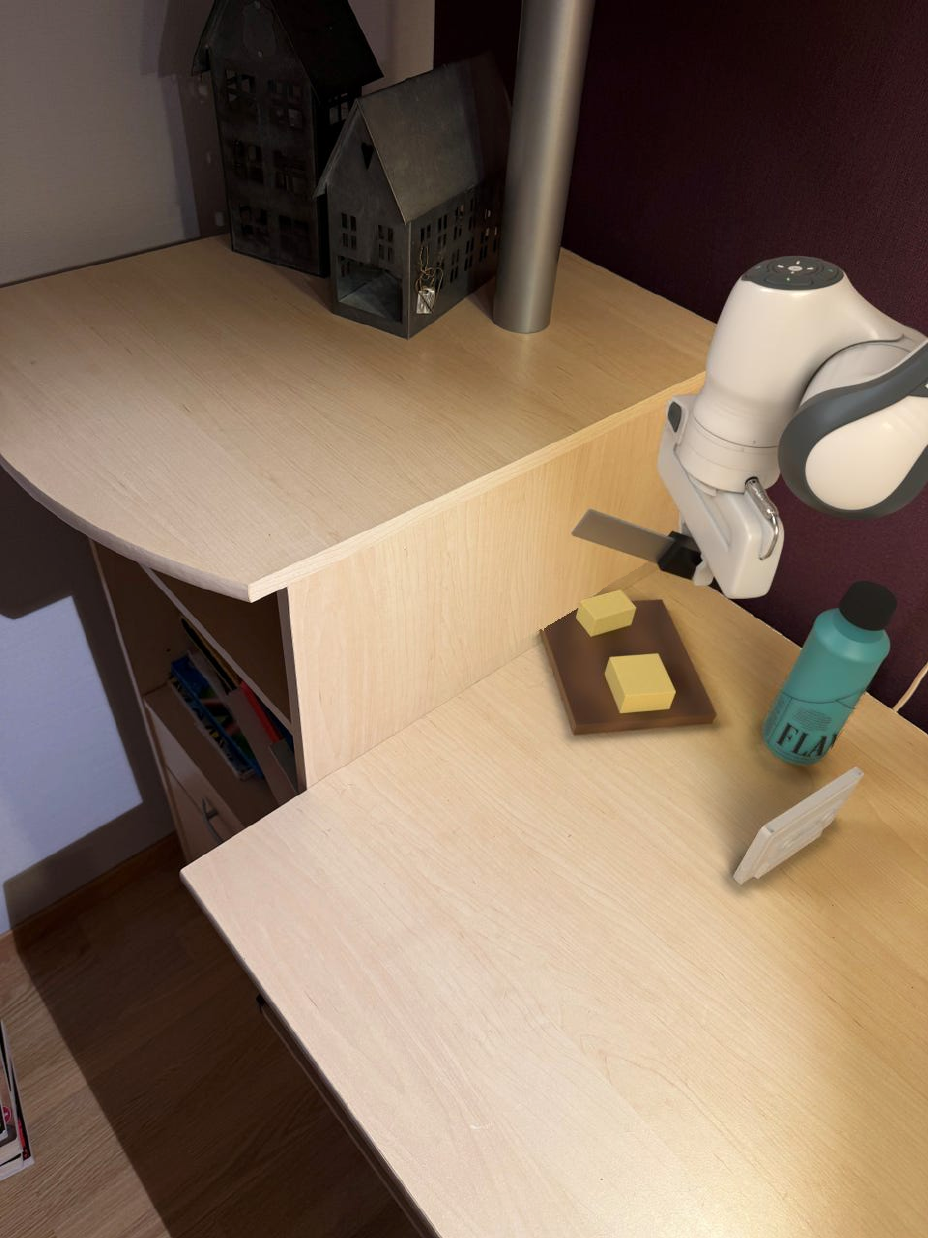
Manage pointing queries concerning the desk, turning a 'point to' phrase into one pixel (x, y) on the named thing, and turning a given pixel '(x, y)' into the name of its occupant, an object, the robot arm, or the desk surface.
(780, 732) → the beverage bottle
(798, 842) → the cassette
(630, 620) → the butter pat
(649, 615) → the board
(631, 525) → the knife
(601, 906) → the desk surface
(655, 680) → the butter stick
